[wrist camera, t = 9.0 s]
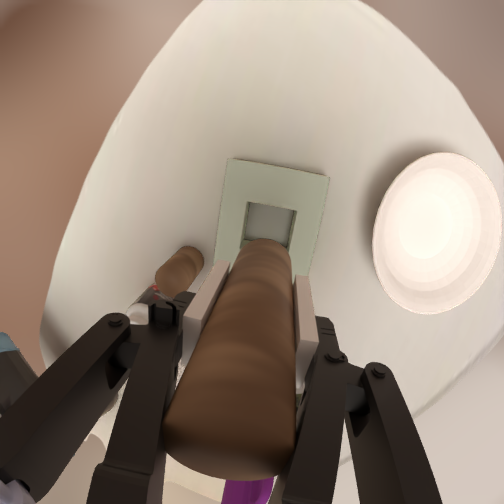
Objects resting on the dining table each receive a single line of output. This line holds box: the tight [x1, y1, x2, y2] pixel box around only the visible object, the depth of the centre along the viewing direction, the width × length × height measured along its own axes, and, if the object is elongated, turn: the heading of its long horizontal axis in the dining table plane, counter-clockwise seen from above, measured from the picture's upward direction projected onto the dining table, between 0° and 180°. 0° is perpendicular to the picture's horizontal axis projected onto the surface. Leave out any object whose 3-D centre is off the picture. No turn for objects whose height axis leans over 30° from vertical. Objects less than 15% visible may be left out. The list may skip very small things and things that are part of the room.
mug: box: [221, 477, 274, 504], centre depth 46 cm, size 9×16×15 cm, turn 148°
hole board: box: [213, 159, 330, 283], centre depth 33 cm, size 11×14×4 cm
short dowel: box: [155, 246, 204, 298], centre depth 34 cm, size 4×4×7 cm
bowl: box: [372, 152, 502, 314], centre depth 30 cm, size 20×20×6 cm
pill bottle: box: [126, 284, 174, 325], centre depth 36 cm, size 5×5×10 cm
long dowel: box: [162, 239, 296, 481], centre depth 14 cm, size 4×4×15 cm
